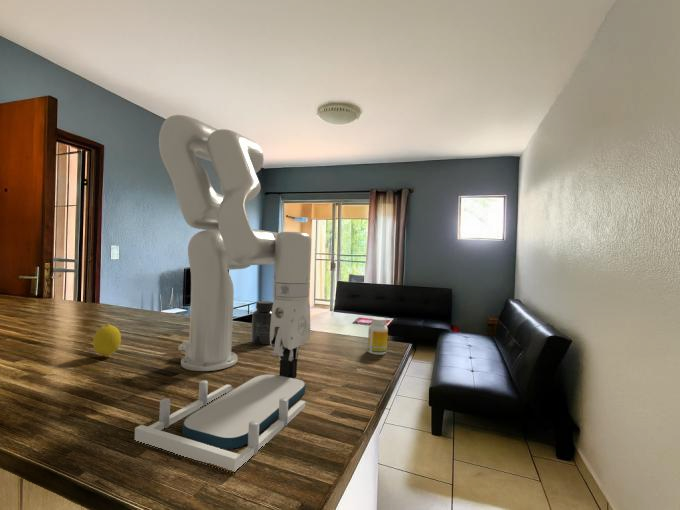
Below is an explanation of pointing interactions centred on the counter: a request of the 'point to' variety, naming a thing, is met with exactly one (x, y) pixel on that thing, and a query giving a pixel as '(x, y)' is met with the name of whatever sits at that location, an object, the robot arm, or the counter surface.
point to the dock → (204, 451)
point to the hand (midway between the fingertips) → (287, 377)
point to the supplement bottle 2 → (377, 336)
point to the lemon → (106, 340)
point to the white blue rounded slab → (242, 411)
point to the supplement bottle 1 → (261, 323)
